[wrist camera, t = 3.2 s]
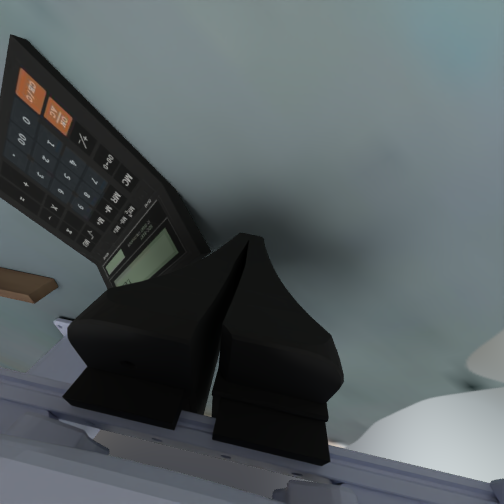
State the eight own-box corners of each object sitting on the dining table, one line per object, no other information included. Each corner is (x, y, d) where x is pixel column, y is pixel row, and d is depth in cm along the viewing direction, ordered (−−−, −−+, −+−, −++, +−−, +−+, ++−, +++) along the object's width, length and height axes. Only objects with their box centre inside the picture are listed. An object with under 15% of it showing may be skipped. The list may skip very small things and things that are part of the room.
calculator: (34, 42, 8) (-75, 4, 6) (222, 232, 12) (206, 259, 10) (2, 183, 12) (-68, 197, 10) (149, 291, 16) (125, 320, 14)
